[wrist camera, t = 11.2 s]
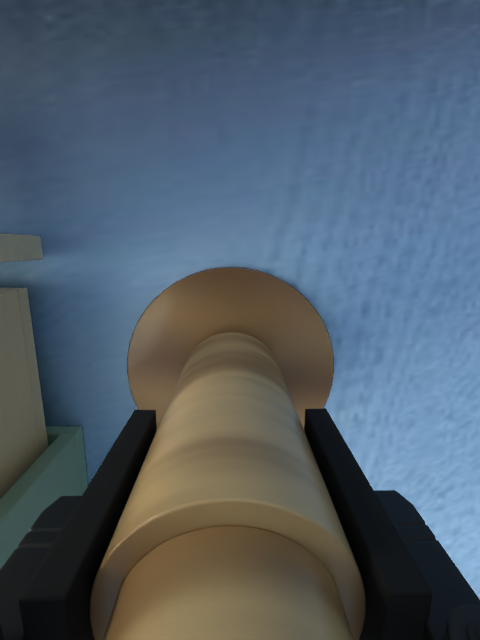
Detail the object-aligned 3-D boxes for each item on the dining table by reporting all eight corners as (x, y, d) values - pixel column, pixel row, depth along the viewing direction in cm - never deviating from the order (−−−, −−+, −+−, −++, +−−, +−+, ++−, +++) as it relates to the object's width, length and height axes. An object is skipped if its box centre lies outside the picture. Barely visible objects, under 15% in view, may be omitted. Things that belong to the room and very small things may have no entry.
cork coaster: (122, 266, 18) (119, 267, 18) (338, 267, 18) (341, 267, 18) (136, 459, 21) (133, 464, 20) (325, 457, 21) (327, 462, 20)
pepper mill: (180, 331, 17) (-358, 1189, 2) (281, 331, 18) (753, 1131, 2) (184, 424, 19) (-106, 1464, 3) (278, 423, 19) (541, 1418, 3)
